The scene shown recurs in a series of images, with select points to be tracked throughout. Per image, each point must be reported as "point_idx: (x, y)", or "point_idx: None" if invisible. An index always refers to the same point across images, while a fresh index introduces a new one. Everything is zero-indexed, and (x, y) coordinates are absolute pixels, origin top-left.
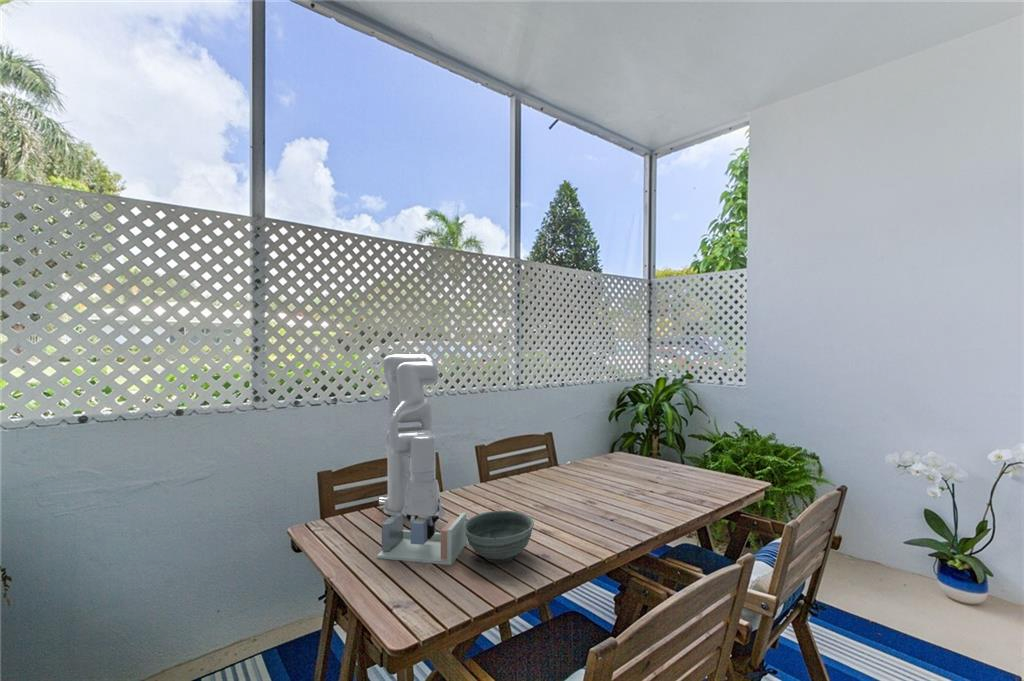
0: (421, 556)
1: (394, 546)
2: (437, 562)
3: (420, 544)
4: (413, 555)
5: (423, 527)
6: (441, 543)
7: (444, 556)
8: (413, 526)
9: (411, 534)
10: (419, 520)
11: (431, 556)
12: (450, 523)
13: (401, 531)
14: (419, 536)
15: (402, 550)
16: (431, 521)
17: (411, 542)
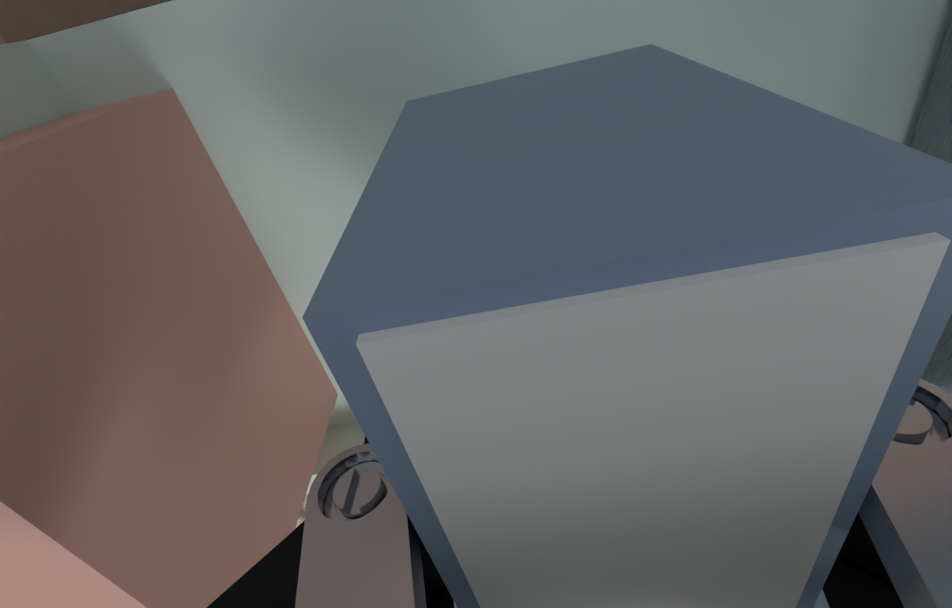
0: (432, 36)
1: (919, 121)
2: (157, 4)
3: (462, 90)
4: (553, 16)
5: (339, 247)
6: (4, 148)
7: (104, 106)
8: (750, 165)
9: (705, 77)
10: (659, 488)
11: (314, 92)
12: (46, 585)
13: (941, 353)
14: (481, 120)
15: (769, 88)
16: (323, 545)
17: (644, 53)
